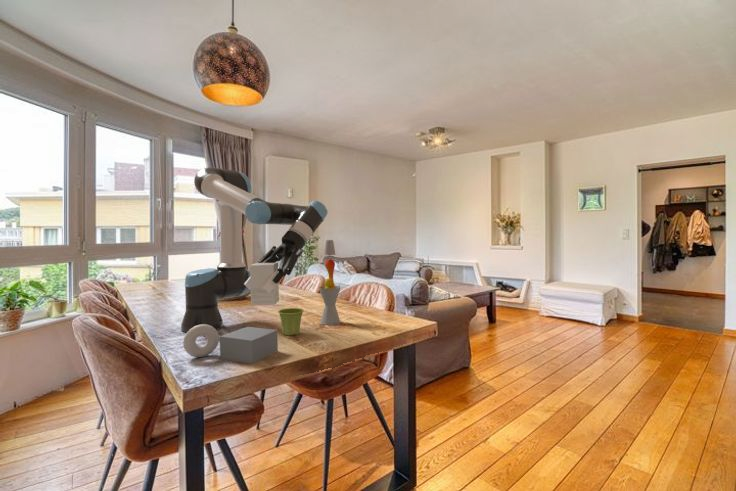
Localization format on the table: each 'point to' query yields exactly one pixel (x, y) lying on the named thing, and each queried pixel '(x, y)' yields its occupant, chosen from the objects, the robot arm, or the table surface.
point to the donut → (194, 333)
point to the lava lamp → (330, 290)
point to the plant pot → (290, 320)
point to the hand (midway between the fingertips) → (256, 288)
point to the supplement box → (258, 279)
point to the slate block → (248, 344)
